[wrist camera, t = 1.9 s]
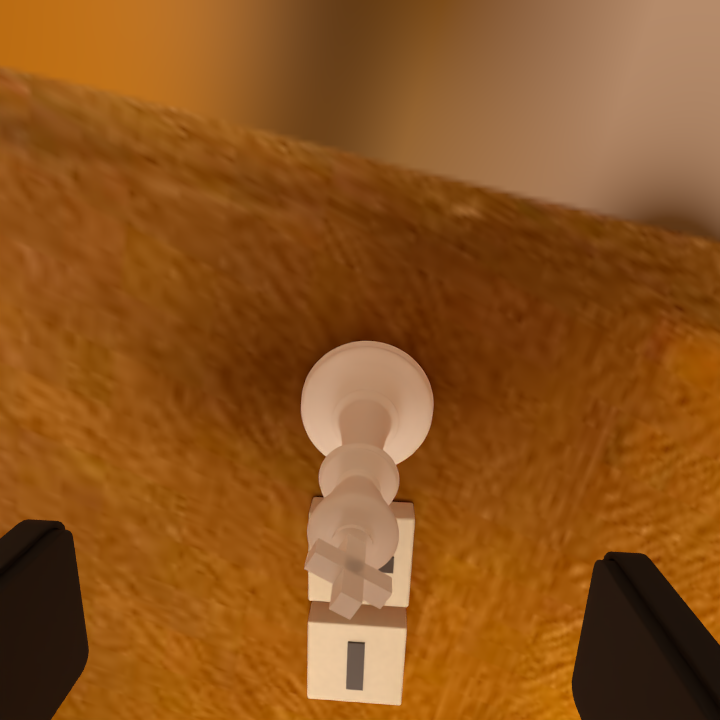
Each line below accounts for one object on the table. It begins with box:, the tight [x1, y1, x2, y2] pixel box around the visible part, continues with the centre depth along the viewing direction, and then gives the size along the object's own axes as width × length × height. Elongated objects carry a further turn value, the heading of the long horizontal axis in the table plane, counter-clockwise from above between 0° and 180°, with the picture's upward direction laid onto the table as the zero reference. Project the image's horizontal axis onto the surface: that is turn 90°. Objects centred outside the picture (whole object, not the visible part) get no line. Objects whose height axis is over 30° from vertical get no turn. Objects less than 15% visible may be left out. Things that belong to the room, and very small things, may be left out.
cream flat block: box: [307, 497, 415, 705], centre depth 20 cm, size 9×4×1 cm, turn 178°
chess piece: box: [301, 341, 434, 620], centre depth 13 cm, size 5×5×10 cm
